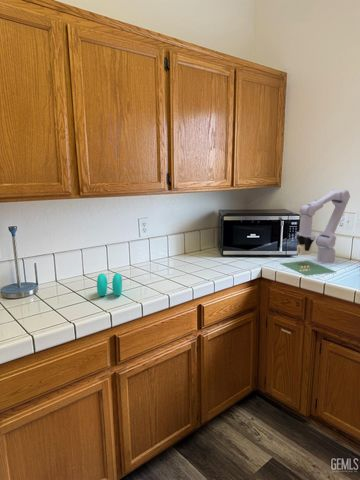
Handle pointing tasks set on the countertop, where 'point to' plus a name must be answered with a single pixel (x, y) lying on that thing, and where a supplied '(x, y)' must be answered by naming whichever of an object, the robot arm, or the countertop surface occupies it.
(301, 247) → the beige u-shaped channel block
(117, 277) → the donuts
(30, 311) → the countertop surface
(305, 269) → the header board
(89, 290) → the countertop surface
